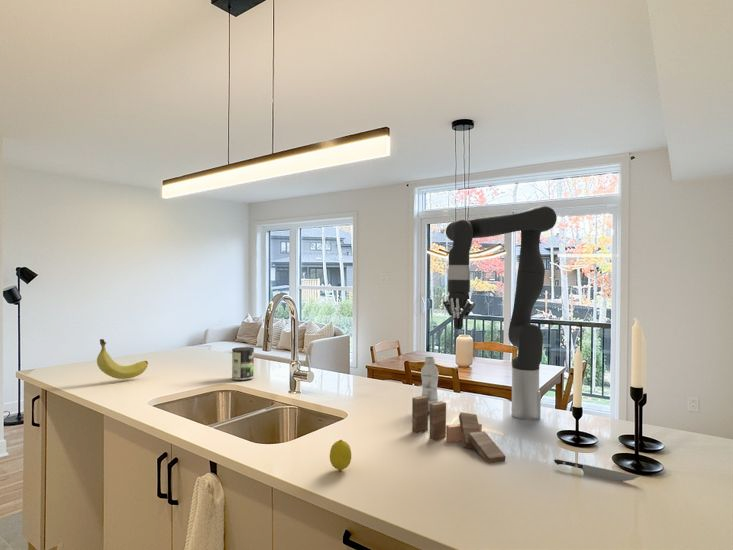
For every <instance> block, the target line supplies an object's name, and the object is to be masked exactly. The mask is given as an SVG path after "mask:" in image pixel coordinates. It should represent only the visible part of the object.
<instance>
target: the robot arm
mask: <svg viewBox="0 0 733 550" xmlns="http://www.w3.org/2000/svg"><path fill="white" fill-rule="evenodd" d="M557 220H558V219H557V213H556V211H555V210H554V209H553V208H552V207H551V206H547V205H539V206H536V207H531V208H529V209H526V210H525V211H524V212H517V213H510V214H509V213H508V214H501V215H490V216H483V217H478V218H474V219H467V220H466V219H459V220H455V221H452V222H450V223H449V224H448V225H447V226H446V228H445V236H446V237H447V239H449V240H450V241H452V247H451V249H449V251H448V268H447V292H448V296H447V299H446V300H444V301H442V302H443V303H442V304H443V305H444V307H445V310H446V311H447V314H448V315H449V316H451V317H452V318H453V326H454V330H463V327H464V318H466V317H468V316H469V315H470V313H471V312H472V310H473V309H474V307H475V306H476V303H475V302H472V301H471V300H470V296H469V293H470V292H471V269H470V251H471V247H472V242H473V239H479V238H480V239H481V238H489V237H490V238H491V237H497V236H500V235H505V234H510V233H515V232H520V250H519V258H518V268H517V275H516V286H515V294H514V303H513V309H512V314H511V319H510V322H509V327H508V333H507V336H508V340H509V342H510V344H512V346H514V347H516V348H518V351H517V352H518V354H517V357H515V358H512V361H511V416H512V417H514V418H517V419H519V420H525V421H535V420H541V418H542V417H541V416H542V415H541V412H542V409H541V405H542V403H541V401H542V400H541V399H542V397H541V396H542V395H541V391H540V365H541V362H542V360H543V346H544V335H543V332H542V329H541V328H540V327H539V326H538V325H537V324H533V323H531V319H532V312H533V308H534V306H535V304H536V302H537V300H538V299H539V297H540V295H541V293H542V291H543V288H544V283H545V275H546V269H545V262H544V260H543V257H542V254H541V251H540V250H541V249H540V242H541V241H540V240H541V235H542V233H543V232H548V231H549V230H551V229H553V228H554V227H555V225H556V224H557Z"/></svg>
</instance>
